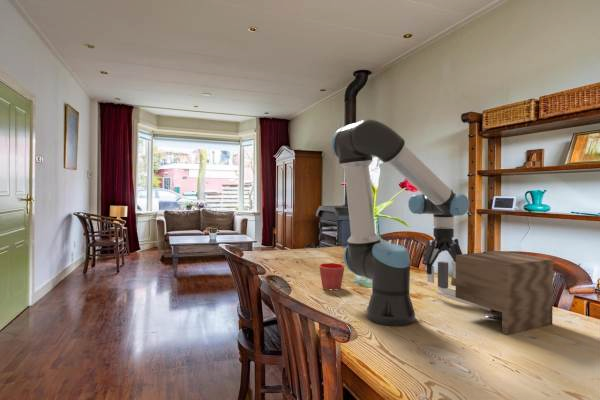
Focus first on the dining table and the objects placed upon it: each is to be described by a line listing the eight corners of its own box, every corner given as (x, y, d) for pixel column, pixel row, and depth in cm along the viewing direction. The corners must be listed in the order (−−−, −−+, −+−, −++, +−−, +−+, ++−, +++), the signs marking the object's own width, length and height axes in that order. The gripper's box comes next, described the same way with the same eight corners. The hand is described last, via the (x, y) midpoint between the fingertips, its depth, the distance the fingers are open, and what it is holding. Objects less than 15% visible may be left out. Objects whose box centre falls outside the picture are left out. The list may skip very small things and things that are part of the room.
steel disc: (495, 323, 111) (495, 319, 111) (481, 318, 116) (481, 315, 116) (505, 320, 114) (505, 317, 114) (491, 315, 118) (491, 312, 118)
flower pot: (348, 286, 154) (348, 264, 154) (337, 292, 144) (337, 269, 144) (326, 283, 159) (327, 262, 159) (314, 289, 150) (314, 266, 150)
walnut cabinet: (506, 335, 101) (507, 264, 101) (455, 315, 117) (455, 255, 117) (552, 324, 110) (553, 259, 109) (498, 307, 126) (499, 250, 126)
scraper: (490, 311, 122) (491, 274, 121) (437, 294, 143) (437, 261, 143) (497, 310, 123) (497, 273, 123) (442, 293, 145) (443, 261, 145)
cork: (467, 286, 154) (467, 261, 154) (452, 286, 156) (452, 260, 155) (463, 283, 160) (463, 259, 160) (449, 282, 161) (449, 258, 161)
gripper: (458, 225, 151) (458, 275, 151) (412, 228, 141) (412, 281, 141) (473, 226, 144) (473, 278, 145) (426, 230, 134) (426, 286, 134)
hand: (443, 280), depth 143 cm, fingers open, 13 cm apart
